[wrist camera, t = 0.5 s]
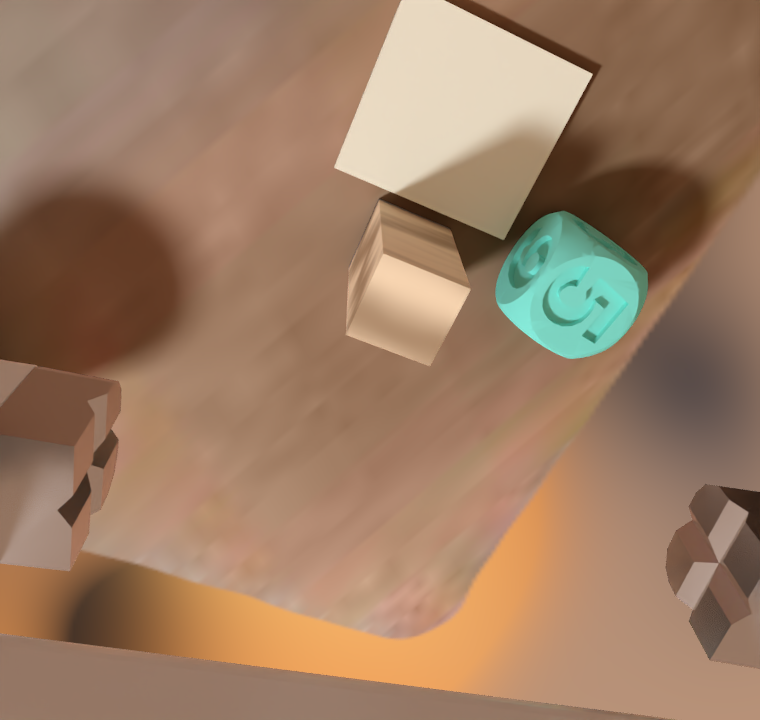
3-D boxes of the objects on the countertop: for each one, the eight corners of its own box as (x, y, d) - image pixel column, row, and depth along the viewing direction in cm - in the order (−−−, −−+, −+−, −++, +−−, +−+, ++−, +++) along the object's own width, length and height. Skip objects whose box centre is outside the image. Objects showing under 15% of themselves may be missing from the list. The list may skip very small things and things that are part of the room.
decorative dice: (564, 327, 60) (591, 375, 53) (486, 281, 58) (504, 324, 51) (628, 250, 57) (665, 289, 50) (548, 197, 54) (576, 231, 47)
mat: (408, -18, 47) (408, -18, 47) (589, 72, 50) (592, 74, 49) (334, 165, 53) (334, 167, 52) (501, 236, 56) (503, 240, 55)
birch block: (379, 198, 54) (383, 253, 44) (450, 228, 55) (471, 289, 45) (348, 267, 57) (346, 334, 46) (417, 294, 58) (429, 366, 47)
